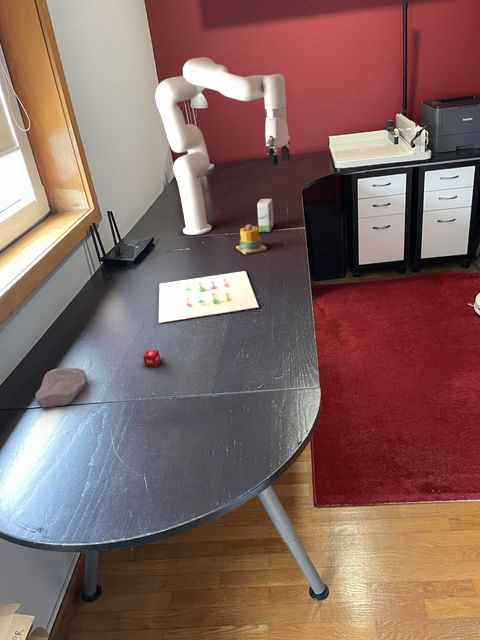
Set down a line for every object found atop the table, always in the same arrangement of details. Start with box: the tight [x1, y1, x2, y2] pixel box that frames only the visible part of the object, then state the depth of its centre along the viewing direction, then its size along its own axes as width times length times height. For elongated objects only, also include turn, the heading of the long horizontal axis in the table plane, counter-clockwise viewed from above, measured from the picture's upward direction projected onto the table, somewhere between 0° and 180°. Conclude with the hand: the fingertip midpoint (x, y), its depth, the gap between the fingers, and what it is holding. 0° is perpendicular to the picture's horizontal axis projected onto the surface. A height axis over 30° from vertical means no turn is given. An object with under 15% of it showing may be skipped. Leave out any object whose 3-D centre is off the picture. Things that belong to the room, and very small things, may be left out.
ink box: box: [256, 198, 275, 233], centre depth 214 cm, size 9×5×12 cm, turn 168°
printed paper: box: [158, 270, 259, 324], centre depth 163 cm, size 30×30×2 cm
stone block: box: [35, 367, 87, 409], centre depth 121 cm, size 12×5×10 cm
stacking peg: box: [235, 224, 268, 256], centre depth 195 cm, size 9×9×9 cm
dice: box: [142, 349, 161, 367], centre depth 129 cm, size 3×3×3 cm
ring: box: [239, 225, 260, 242], centre depth 194 cm, size 7×7×4 cm
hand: (279, 163), depth 190 cm, fingers open, 9 cm apart
